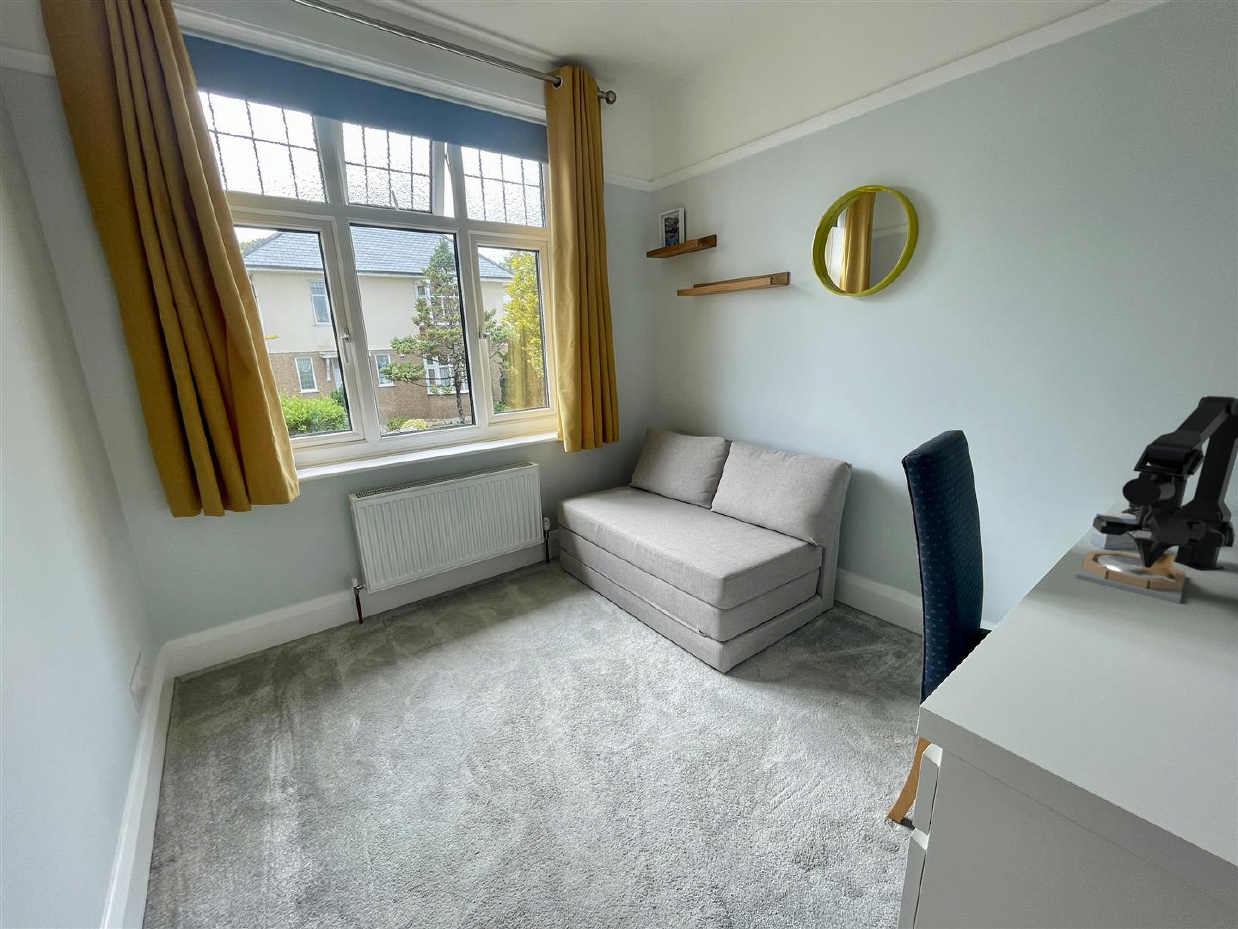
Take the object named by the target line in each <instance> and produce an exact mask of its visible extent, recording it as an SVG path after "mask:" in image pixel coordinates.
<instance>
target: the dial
mask: <svg viewBox="0 0 1238 929" xmlns="http://www.w3.org/2000/svg"><path fill="white" fill-rule="evenodd" d="M1176 555H1177V553H1173V552H1170V551H1165V552H1164V553H1163V554H1162V555H1161V556H1160V557H1159V558H1158V560H1157V561H1156V562H1155V563H1154V564H1153V565H1152V566H1151V567H1150V568H1147V567H1144V566H1143V563H1142V560H1141V559H1137V558H1132V557H1126V556H1118V555H1103V556H1100V557H1098V560H1097V563H1099V564H1101V565H1103V566H1107V568H1109V569H1111V570H1114V571H1118V572H1123V573H1127V574H1131V575H1136V576H1140V577H1144V578H1163V577H1167V578H1169V577H1170V575H1171V571H1172V567H1174V562H1175V561H1174V559H1175V556H1176Z"/></svg>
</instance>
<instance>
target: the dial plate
mask: <svg viewBox="0 0 1238 929" xmlns="http://www.w3.org/2000/svg"><path fill="white" fill-rule="evenodd" d="M1103 555H1118V556H1126V557H1132V558H1137V559H1141V557H1140V555H1136V554H1131V553H1126V552H1123V551H1122V552H1121V551H1119V552H1118V551H1111V550H1109V551H1108V550H1107V551H1102V550H1101V551H1100V550H1099V551H1098V550H1097V551H1094V550H1093V551H1091V550H1089V551H1087V552H1086V554H1085V555H1084V556H1083V558H1082V562H1081V566H1080V568H1079V570H1078V571H1077V573H1076V575H1075V578H1076V579H1080V580H1083V581H1087V582H1092V583H1095V584H1099V585H1103V586H1108V587H1113V588H1116V589H1120V590H1123V589H1124V591H1127V590H1128V591H1127V592H1132V593H1135V594H1141V595H1143V596H1148V597H1152V598H1156V599H1160V600H1165V601H1169V602H1172V603H1177V604H1180V603H1181V600H1182V593H1183V590H1184V584H1185V580H1186V575H1187V572H1185V570H1182V569H1180V568H1178V567H1175V566H1173V567H1172V571H1171V575H1170V577H1169V578H1167V577H1163V578H1144V577H1140V576H1136V575H1131V574H1127V573H1123V572H1118V571H1114V570H1111V569H1109V568H1107V566H1103V565H1101V564H1099V563H1097V560H1098V557H1100V556H1103Z"/></svg>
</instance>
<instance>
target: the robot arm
mask: <svg viewBox="0 0 1238 929" xmlns="http://www.w3.org/2000/svg"><path fill="white" fill-rule="evenodd" d="M1207 440H1208V442H1207V446H1206V450H1205V453H1204V450H1203V445H1204V444H1205V443H1206V441H1207ZM1237 455H1238V398H1236V397H1234V396H1223V395H1222V396H1221V395H1220V396H1219V395H1218V396H1217V395H1207V396H1203V397H1201V398H1200V399H1199V402H1198V405H1197V407H1196V408H1194V410H1193V411H1192V412H1191V413H1190V414H1189V415H1188V416H1187V418H1186V419H1184V421H1183V422H1182V423H1181V424H1180V425H1179V426H1178V427H1177V428H1176V429H1175V430H1174V431H1173V432H1169V433H1165V434H1161V435H1159V436H1158V437H1156V438H1155V439H1154V440H1153V441H1152V442H1151V443H1149V444H1148V445H1146V447H1145V448H1144V450H1143V452H1142V454H1141V455H1140V457H1139V459H1138V461H1137V462H1136V464H1135V466H1134V467H1133V471H1134V472H1138V477H1137V478H1133V479H1131V480H1129V481H1127V482H1126V483H1125V484H1124V485H1123V486H1122V496H1123V497H1124V498H1125V500H1126V501H1127V502H1128V503H1129V502H1130V503H1132V504H1135V505H1139V506H1141V507H1140V512H1139V516H1138V517H1136V519H1135V521H1136V522H1137V524H1136V523H1126V522H1124V521H1123V520H1121V519H1120V518H1119V517H1111V516H1101V515H1098V516H1097V517H1096V516H1095V517H1094V518H1093V522H1092V527H1093V528H1096V529H1097V530H1098V531H1099V532H1100V533H1103V534H1110V535H1119V536H1121V535H1123V534H1125V533H1126V534H1127V535H1129V536H1130V537H1131V538H1132V539H1134V541H1135V543H1136V545H1137V548H1136V549H1137V550H1138V553H1139V554H1138V555H1139V556H1140V557H1141V560H1142V563H1143V566H1144V567H1147V568H1150V567H1151V566H1152V565H1153V564H1154V563H1155V562H1156V561H1157V560H1158V558H1159V557H1160V556H1161V555H1162V554H1163V553H1164V552H1167V551H1168V550H1170V549H1171V548H1174V547H1178V548H1177V552H1176V555H1175V559H1174V562H1177V563H1180V564H1183V565H1185V566H1188V567H1191V568H1193V569H1196V570H1217V569H1220V570H1221V569H1225V566H1224V565H1222V564H1219V563H1217V562H1218V558H1219V554H1220V550H1221V548H1225V547H1226V548H1233V547H1234V544H1235V538H1236V533H1235V528H1234V526H1233V522H1232V521H1231V518H1232V514H1233V513H1232V512H1231V511H1230V509H1229V507H1228V505H1227V504H1226V502H1225V498H1226V496H1227V492H1228V488H1229V484H1230V481H1231V478H1232V474H1233V470H1234V466H1235V462H1236V459H1237ZM1148 464H1149V465H1148ZM1200 468H1201V469H1200ZM1199 469H1200V473H1199V477H1198V480H1197V485H1196V488H1195V492H1194V495H1193V498H1192V499H1191V500H1189V501H1188V502H1187V503H1186V504H1183V500H1184V496H1185V492H1186V488H1187V484H1188V479H1189V478H1190V477H1191V476H1195V474H1196V473H1197V471H1198V470H1199ZM1143 528H1144V529H1143ZM1148 529H1149V530H1148ZM1151 535H1152V536H1151Z"/></svg>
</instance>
